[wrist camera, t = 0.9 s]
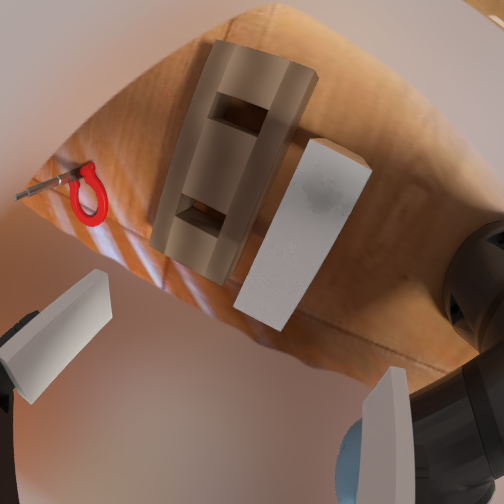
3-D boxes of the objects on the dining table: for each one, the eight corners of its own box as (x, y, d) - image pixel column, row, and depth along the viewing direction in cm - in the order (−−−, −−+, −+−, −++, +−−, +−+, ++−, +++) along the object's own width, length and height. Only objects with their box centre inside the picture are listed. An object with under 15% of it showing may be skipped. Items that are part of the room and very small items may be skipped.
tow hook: (117, 219, 40) (98, 159, 37) (51, 257, 29) (25, 182, 26) (84, 228, 43) (67, 175, 40) (25, 262, 32) (3, 200, 29)
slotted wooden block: (318, 78, 25) (314, 70, 22) (234, 271, 36) (221, 286, 33) (231, 48, 26) (215, 39, 23) (166, 234, 37) (148, 245, 34)
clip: (361, 156, 27) (372, 170, 16) (306, 261, 33) (280, 331, 22) (325, 137, 27) (309, 138, 16) (274, 245, 33) (232, 306, 22)
